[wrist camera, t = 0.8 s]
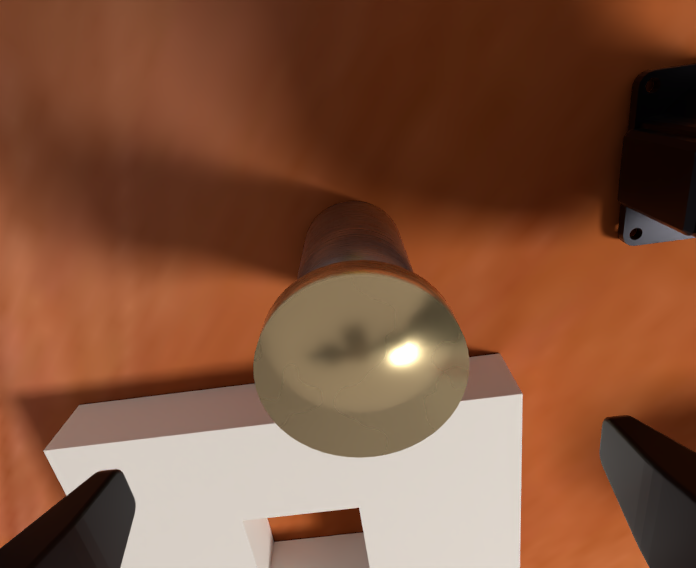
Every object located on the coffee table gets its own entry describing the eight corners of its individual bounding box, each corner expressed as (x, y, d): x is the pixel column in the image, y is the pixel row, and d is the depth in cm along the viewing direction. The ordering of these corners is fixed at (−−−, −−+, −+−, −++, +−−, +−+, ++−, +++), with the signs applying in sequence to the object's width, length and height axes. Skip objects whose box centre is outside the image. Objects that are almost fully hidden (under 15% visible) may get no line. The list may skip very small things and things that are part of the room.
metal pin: (410, 177, 19) (465, 261, 10) (420, 296, 21) (472, 445, 12) (278, 195, 19) (230, 292, 11) (302, 311, 21) (276, 467, 13)
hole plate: (499, 353, 22) (522, 393, 19) (501, 580, 28) (518, 634, 26) (79, 405, 23) (43, 450, 20) (174, 613, 29) (157, 669, 27)
